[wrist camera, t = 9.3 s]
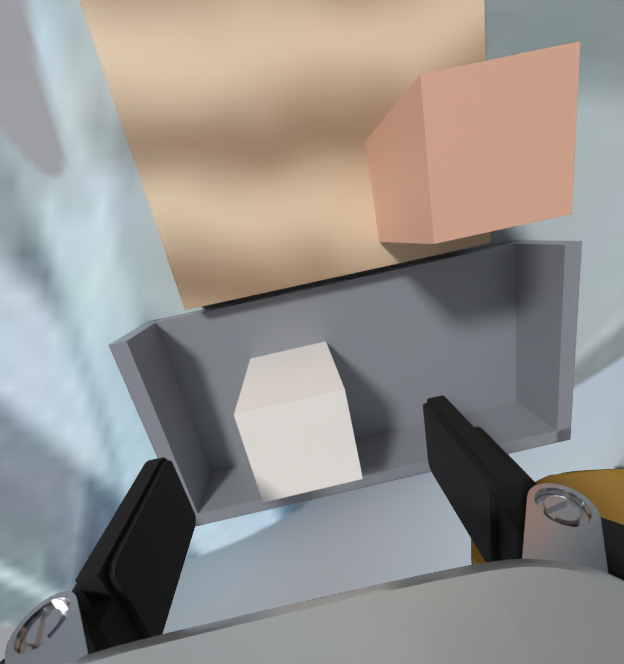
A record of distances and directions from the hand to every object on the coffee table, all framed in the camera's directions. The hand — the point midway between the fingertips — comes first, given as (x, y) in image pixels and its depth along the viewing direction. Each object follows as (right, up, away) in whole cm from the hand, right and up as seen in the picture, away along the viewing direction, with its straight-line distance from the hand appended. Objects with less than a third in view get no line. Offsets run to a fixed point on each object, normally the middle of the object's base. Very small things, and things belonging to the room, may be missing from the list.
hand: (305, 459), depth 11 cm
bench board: (0, +15, +4) cm, 15 cm away
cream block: (-1, +1, +7) cm, 8 cm away
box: (+3, +2, +8) cm, 9 cm away
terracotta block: (+5, +12, +4) cm, 13 cm away
